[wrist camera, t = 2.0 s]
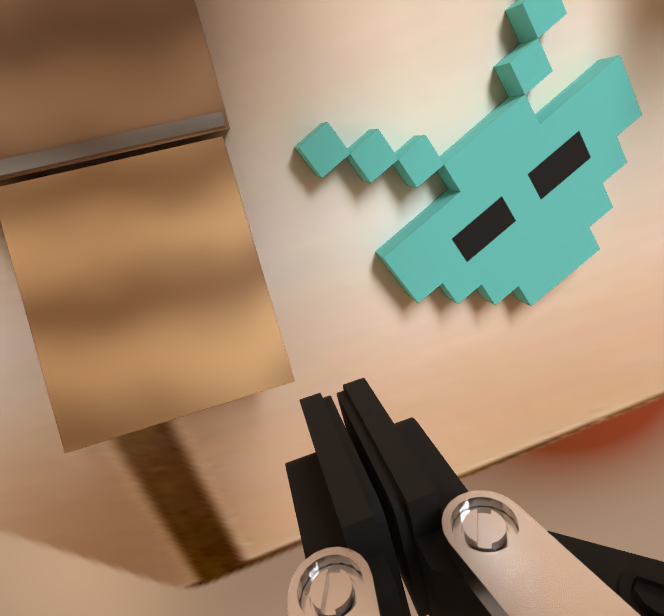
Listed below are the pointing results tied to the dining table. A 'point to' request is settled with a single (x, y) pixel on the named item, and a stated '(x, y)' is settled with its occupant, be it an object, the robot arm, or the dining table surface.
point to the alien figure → (504, 177)
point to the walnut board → (101, 80)
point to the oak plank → (142, 290)
